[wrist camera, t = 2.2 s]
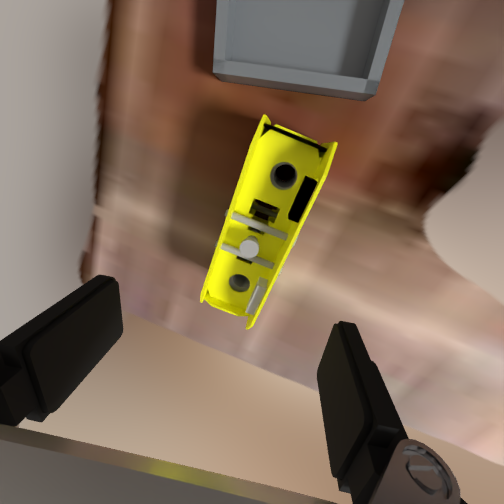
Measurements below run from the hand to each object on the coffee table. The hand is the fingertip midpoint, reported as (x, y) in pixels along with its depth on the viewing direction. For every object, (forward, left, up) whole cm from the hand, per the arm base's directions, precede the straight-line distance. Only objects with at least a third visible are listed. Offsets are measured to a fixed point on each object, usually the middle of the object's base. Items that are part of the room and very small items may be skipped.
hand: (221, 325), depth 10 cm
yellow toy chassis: (0, -1, -15) cm, 15 cm away
